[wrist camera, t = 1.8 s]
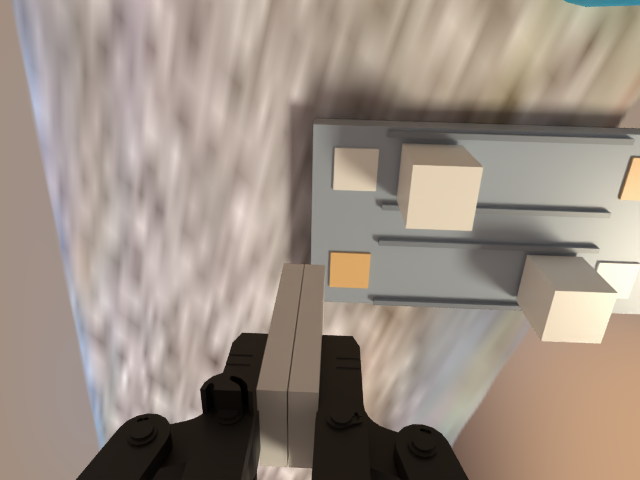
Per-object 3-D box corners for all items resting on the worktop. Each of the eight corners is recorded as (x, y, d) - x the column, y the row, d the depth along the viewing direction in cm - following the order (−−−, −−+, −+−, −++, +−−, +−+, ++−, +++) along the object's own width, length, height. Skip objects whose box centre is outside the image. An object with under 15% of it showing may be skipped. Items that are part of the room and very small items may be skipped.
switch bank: (314, 118, 33) (312, 125, 31) (688, 130, 33) (714, 138, 30) (311, 287, 39) (309, 304, 37) (626, 300, 39) (643, 317, 36)
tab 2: (527, 254, 35) (555, 290, 30) (581, 256, 35) (618, 293, 30) (515, 300, 36) (541, 340, 32) (568, 302, 36) (600, 343, 32)
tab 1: (402, 143, 31) (413, 164, 27) (462, 145, 31) (483, 167, 27) (396, 199, 33) (405, 228, 29) (453, 201, 33) (471, 230, 28)
